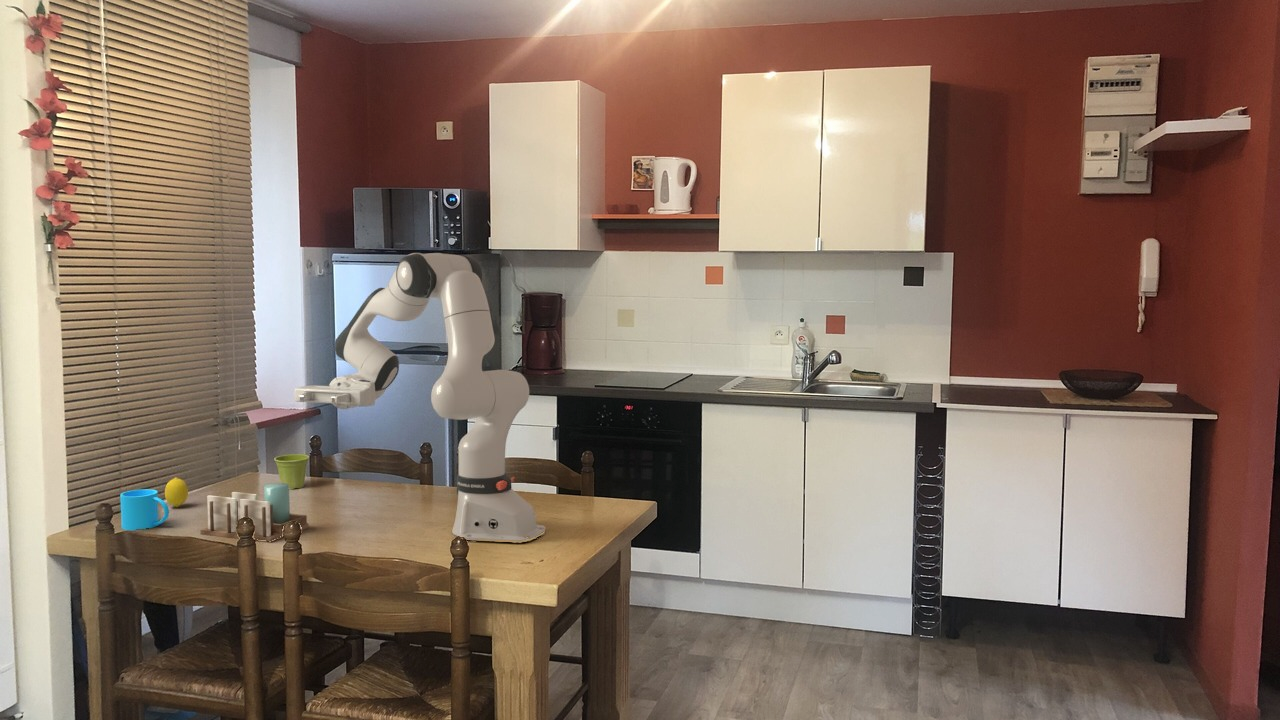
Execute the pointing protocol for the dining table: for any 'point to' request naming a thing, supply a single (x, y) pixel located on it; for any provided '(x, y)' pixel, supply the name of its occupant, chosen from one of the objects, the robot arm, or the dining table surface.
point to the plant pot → (292, 469)
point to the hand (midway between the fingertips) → (317, 399)
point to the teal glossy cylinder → (278, 501)
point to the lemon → (176, 492)
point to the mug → (141, 509)
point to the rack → (244, 505)
